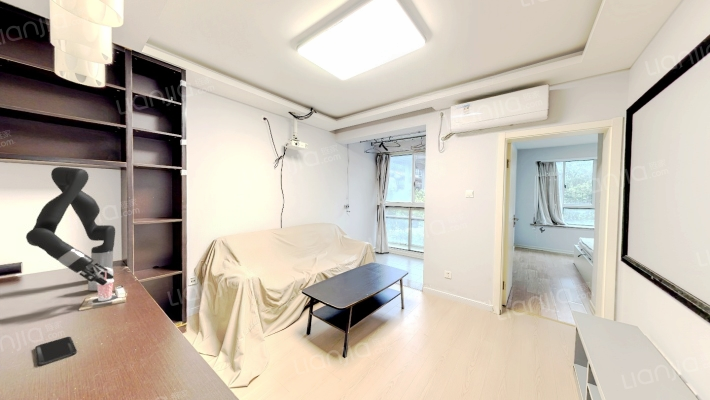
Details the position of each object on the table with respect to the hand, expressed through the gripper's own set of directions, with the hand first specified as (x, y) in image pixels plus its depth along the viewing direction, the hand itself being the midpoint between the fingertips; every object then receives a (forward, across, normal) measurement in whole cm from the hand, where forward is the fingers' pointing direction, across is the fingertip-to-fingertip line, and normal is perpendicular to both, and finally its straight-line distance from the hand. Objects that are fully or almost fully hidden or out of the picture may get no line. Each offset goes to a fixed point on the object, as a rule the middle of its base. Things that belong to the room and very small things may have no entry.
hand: (108, 281), depth 120 cm
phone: (+7, -46, +7) cm, 47 cm away
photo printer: (+1, +19, +13) cm, 23 cm away
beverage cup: (+6, 0, +7) cm, 9 cm away
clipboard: (+6, 0, +7) cm, 9 cm away
